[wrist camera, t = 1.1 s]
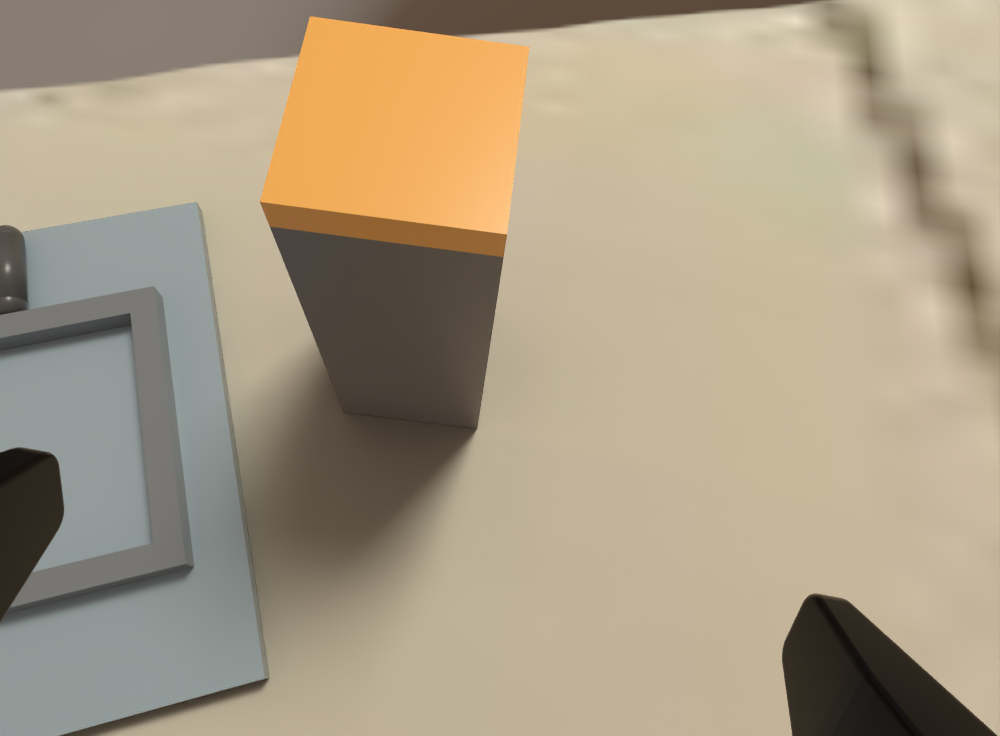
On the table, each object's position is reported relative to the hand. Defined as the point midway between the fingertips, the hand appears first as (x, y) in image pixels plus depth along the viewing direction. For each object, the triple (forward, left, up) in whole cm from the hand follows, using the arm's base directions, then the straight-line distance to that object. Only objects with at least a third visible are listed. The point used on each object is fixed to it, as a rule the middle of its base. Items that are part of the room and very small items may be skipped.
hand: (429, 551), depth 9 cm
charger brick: (+4, +7, -14) cm, 17 cm away
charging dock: (-8, +10, -14) cm, 20 cm away
